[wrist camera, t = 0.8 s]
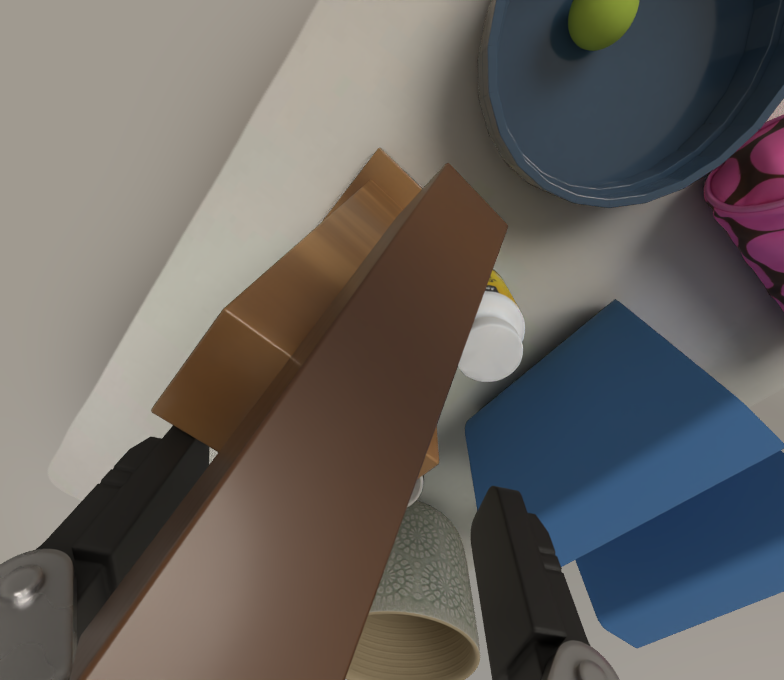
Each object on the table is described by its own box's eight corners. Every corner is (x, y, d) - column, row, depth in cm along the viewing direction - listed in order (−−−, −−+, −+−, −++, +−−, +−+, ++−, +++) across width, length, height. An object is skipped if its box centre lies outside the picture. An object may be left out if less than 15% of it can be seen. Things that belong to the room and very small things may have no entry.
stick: (395, 217, 12) (448, 160, 10) (450, 269, 12) (509, 225, 10) (76, 640, 5) (59, 705, 3) (237, 713, 5) (303, 805, 4)
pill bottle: (503, 256, 35) (539, 306, 24) (504, 320, 38) (537, 388, 27) (432, 265, 35) (438, 317, 25) (439, 327, 38) (446, 396, 28)
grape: (561, -12, 25) (584, -36, 22) (624, -25, 25) (658, -52, 21) (558, 60, 27) (578, 49, 24) (617, 50, 27) (647, 36, 23)
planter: (318, 522, 54) (285, 651, 40) (399, 460, 47) (392, 590, 34) (405, 575, 58) (401, 706, 45) (490, 526, 52) (515, 662, 38)
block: (704, 388, 40) (894, 553, 24) (565, 478, 47) (641, 651, 31) (595, 282, 35) (740, 400, 19) (459, 399, 42) (484, 556, 27)
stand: (380, 147, 31) (234, 181, 6) (449, 214, 33) (541, 436, 9) (322, 222, 34) (76, 439, 10) (389, 279, 36) (330, 579, 12)
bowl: (471, -99, 24) (482, -152, 20) (807, -178, 22) (906, -257, 17) (481, 212, 33) (491, 223, 29) (723, 179, 31) (774, 186, 26)
